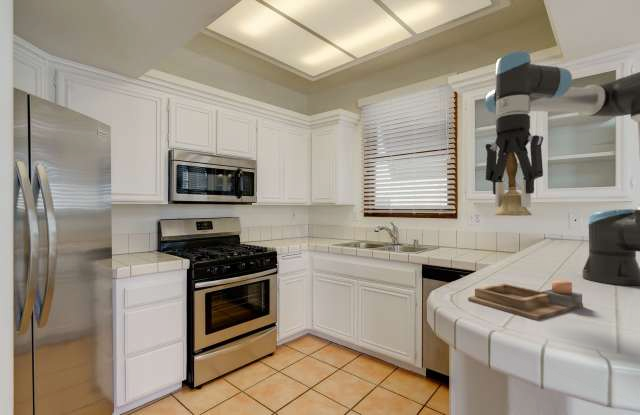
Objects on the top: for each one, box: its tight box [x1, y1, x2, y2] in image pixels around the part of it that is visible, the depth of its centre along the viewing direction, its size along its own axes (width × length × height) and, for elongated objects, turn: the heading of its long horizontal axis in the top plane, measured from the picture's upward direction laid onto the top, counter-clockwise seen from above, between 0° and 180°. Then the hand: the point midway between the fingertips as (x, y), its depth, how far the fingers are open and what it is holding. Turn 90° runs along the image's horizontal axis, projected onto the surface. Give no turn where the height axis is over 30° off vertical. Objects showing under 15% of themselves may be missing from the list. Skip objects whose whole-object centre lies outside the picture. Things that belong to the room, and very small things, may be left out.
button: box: [551, 279, 573, 294], centre depth 82 cm, size 4×4×2 cm
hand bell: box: [493, 152, 532, 217], centre depth 84 cm, size 8×8×16 cm
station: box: [467, 283, 584, 321], centre depth 83 cm, size 20×17×3 cm
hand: (512, 206), depth 84 cm, fingers closed on hand bell, 6 cm apart
